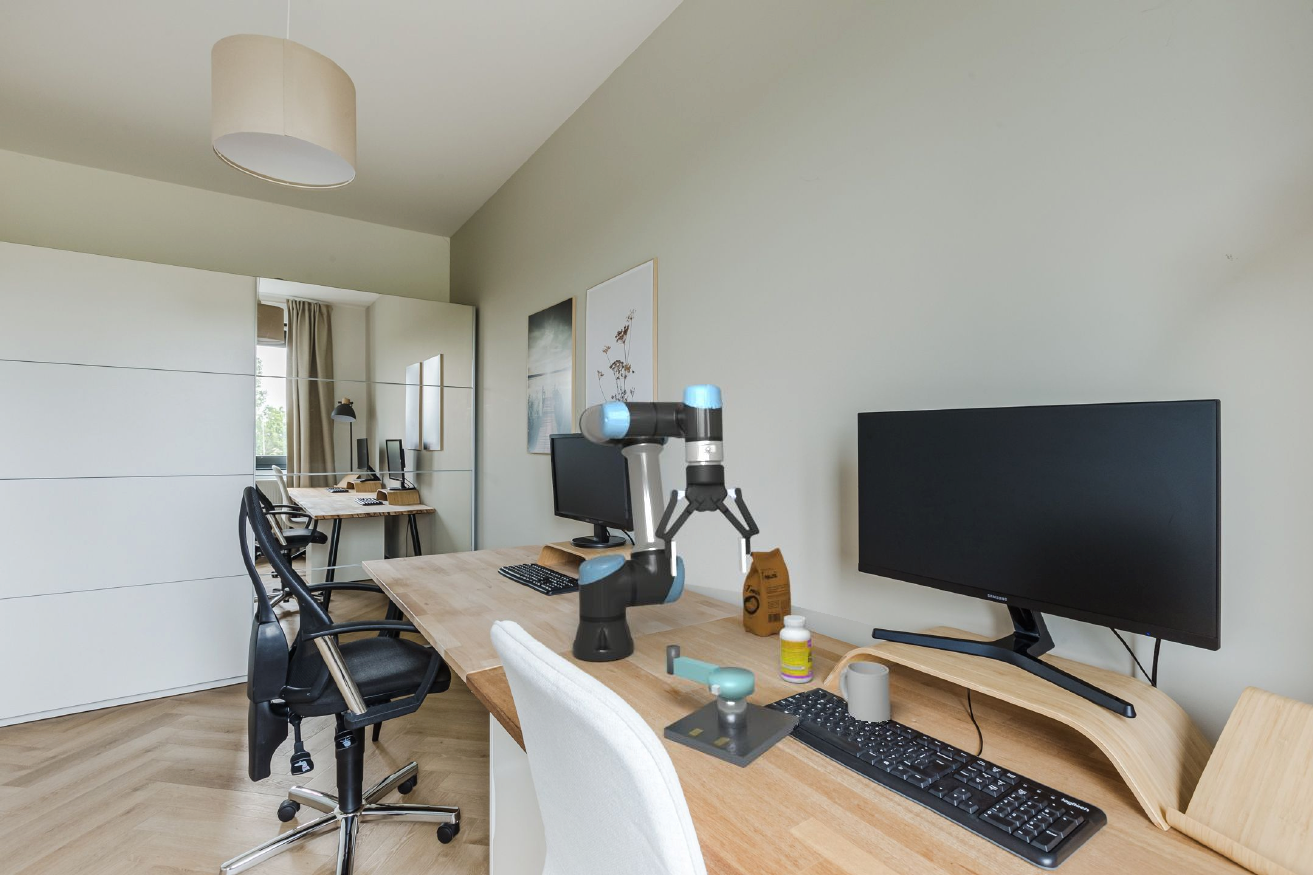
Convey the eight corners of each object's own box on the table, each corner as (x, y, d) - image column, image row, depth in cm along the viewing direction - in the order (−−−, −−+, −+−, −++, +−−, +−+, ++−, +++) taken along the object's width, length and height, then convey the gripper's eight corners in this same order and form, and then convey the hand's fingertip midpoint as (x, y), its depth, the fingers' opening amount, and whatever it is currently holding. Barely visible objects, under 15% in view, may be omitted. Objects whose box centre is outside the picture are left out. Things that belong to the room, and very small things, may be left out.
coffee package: (738, 630, 162) (735, 549, 163) (771, 622, 169) (769, 545, 170) (762, 639, 154) (759, 554, 155) (796, 630, 160) (794, 549, 161)
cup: (873, 730, 101) (871, 678, 101) (827, 710, 110) (826, 662, 110) (899, 720, 105) (897, 669, 105) (853, 701, 113) (851, 654, 114)
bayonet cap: (766, 685, 103) (765, 658, 104) (734, 703, 96) (734, 674, 96) (684, 663, 115) (684, 639, 116) (651, 678, 108) (650, 652, 108)
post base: (663, 737, 100) (663, 695, 101) (724, 702, 114) (723, 666, 114) (743, 767, 90) (742, 721, 90) (799, 725, 104) (798, 685, 104)
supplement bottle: (813, 685, 122) (811, 622, 122) (780, 683, 123) (779, 621, 124) (811, 673, 128) (809, 614, 129) (780, 672, 130) (778, 613, 130)
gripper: (642, 465, 110) (645, 579, 109) (772, 461, 113) (776, 573, 112) (640, 465, 118) (643, 572, 117) (761, 462, 120) (765, 567, 119)
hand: (708, 573), depth 114 cm, fingers open, 13 cm apart
